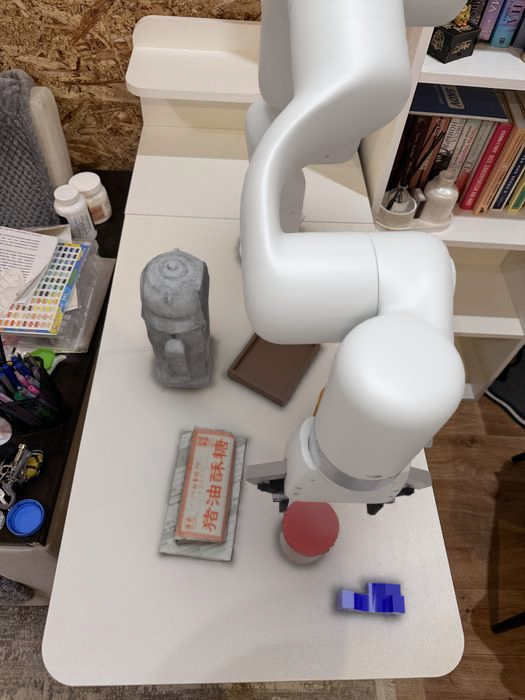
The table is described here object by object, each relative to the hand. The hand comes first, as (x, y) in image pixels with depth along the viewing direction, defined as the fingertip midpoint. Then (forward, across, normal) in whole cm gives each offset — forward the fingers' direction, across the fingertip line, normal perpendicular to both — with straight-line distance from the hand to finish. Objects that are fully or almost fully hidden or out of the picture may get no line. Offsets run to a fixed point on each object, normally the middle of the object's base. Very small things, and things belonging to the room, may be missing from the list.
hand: (325, 499), depth 53 cm
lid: (+12, 0, 0) cm, 12 cm away
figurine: (+22, +19, -28) cm, 41 cm away
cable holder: (+22, -8, +7) cm, 25 cm away
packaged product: (+22, +14, -6) cm, 27 cm away
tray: (+22, +4, -29) cm, 37 cm away
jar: (+22, 0, 0) cm, 22 cm away
